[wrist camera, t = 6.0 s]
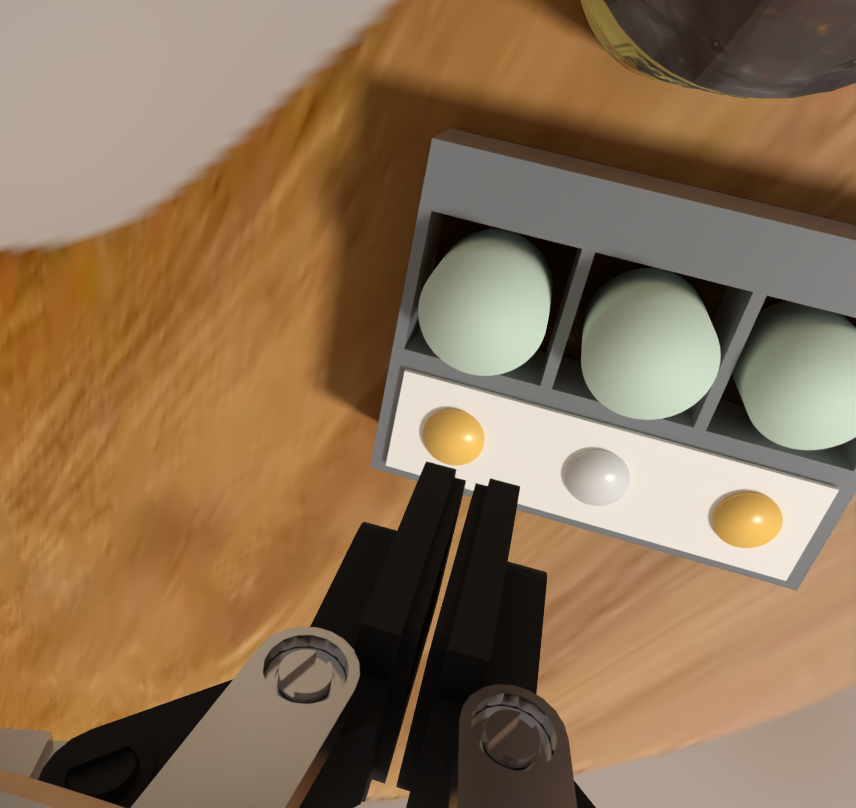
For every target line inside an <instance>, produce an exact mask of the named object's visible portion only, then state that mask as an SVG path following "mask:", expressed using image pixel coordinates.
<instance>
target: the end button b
mask: <svg viewBox="0 0 856 808" xmlns="http://www.w3.org/2000/svg"><path fill="white" fill-rule="evenodd" d="M732 376H733V379H734V381H735V384H736V386H737V389H738V391H739V393H740V396H741V398H742V401H743V403H744V406H745V408H746V411H747V413H748V415H749V418H750V420H751V421H752V423H753V425H754V426H755V427H756V428H757V430H758V431H759V432H760V433H761V434H763V435H764V436H765V437H766V438H768V439H769V440H771V441H773V442H775V443H777V444H779V445H782V446H785V447H788V448H792V449H798V450H819V449H826V448H830V447H834V446H837V445H840V444H843V443H845V442H847V441H850V440H852V439H853V438H855V437H856V327H855V326H854V325H853V324H852V323H851V322H850V321H849V320H848V319H847V317H846V316H844V315H842V314H838V313H834V312H831V311H827V310H823V309H819V308H815V307H811V306H807V305H803V304H799V303H795V302H791V301H784V302H781V303H777V304H774V305H772V306H769V307H767V308H765V309H764V310H762V311H760V312H759V314H758V316H757V318H756V320H755V323H754V325H753V327H752V329H751V332H750V334H749V336H748V338H747V340H746V343H745V345H744V347H743V349H742V352H741V354H740V356H739V358H738V360H737V363H736V365H735V367H734V369H733V372H732Z"/></svg>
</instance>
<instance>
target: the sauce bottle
mask: <svg viewBox="0 0 856 808" xmlns="http://www.w3.org/2000/svg"><path fill="white" fill-rule="evenodd" d="M581 4H582V8H583V11H584V13H585V16H586V19H587V21H588V23H589V26H590V28H591V30H592V31H593V33H594V35H595V36H596V38H597V40H598V41H599V43H600V44H601V45H602V46H603V48H604V49H605V50H606V51H607V52H608V53H609V54H610V55H611V56H612V57H613V58H614V59H615V60H616V61H617V62H619V63H620V64H621V65H623V66H624V67H625V68H626V69H628V70H630V71H632V72H634V73H636V74H638V75H641V76H644V77H647V78H650V79H654V80H659V81H663V82H668V83H673V84H678V85H680V86H682V87H686V88H695V89H699V90H703V91H708V92H713V93H717V94H721V95H729V96H733V97H740V98H758V99H777V98H796V97H803V96H810V95H816V94H820V93H825V92H830V91H834V90H837V89H840V88H843V87H845V86H848V85H851V84H854V83H856V0H581Z"/></svg>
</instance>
